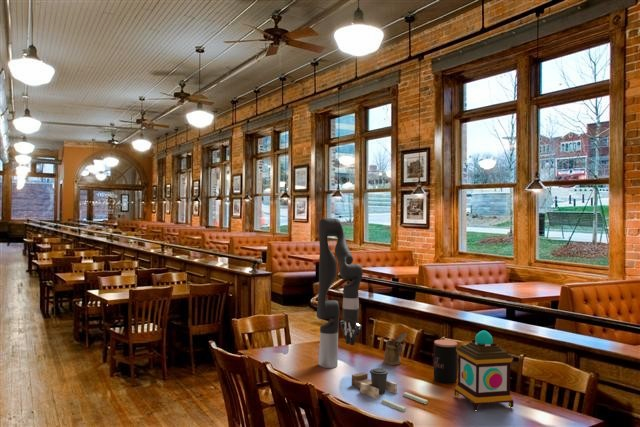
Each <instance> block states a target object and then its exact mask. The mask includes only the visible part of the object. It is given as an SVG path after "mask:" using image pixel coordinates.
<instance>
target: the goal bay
mask: <svg viewBox="0 0 640 427" xmlns="http://www.w3.org/2000/svg"><path fill="white" fill-rule="evenodd" d="M402 396H403V397H406V398H409V399H410V400H413V401H416V402H419V403H421V404H423V403H424V404H423V405H427V403H429V401H428V399H425V398H423V397H420V396H417V395H414V394H412V393H410V392H406V391H405V392H403V393H402ZM381 403H382V404H384V405H386V406H389V407H391V408H392V409H393V408H394V409H396V410H399V411H401V412H402V413H403V412H407V407H406V406H403V405H401V404H399V403H398V404H397V403H395V402H393V401H390V400H388V399H385V398H382V399H381Z"/></svg>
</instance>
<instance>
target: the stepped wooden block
mask: <svg viewBox="0 0 640 427" xmlns="http://www.w3.org/2000/svg"><path fill="white" fill-rule="evenodd" d="M359 390H360V393H362V394H364V395H366V396H368V397H371V398H373V399H375V400H378V399H380V395H379V389H378V388H375V387H373V386H370V385H368V384H365V383H361V386H360V388H359ZM385 391H388V392H391V393H393V394H398V383H396V382H393V381H391V380H388V379H387V380H386V388H385Z"/></svg>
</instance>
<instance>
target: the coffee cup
mask: <svg viewBox="0 0 640 427" xmlns="http://www.w3.org/2000/svg"><path fill="white" fill-rule="evenodd" d="M369 373H370V378H371V379H370V380H371V381H372V386H373V387H375V388H378V389H379V396H383V395H385V394H386V390H385V388H386V380H388V375H389V371H388V370H387V369H384V368H381V367H380V368H377V367H376V368H373V369H370V370H369Z"/></svg>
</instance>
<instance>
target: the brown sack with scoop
mask: <svg viewBox="0 0 640 427" xmlns="http://www.w3.org/2000/svg"><path fill="white" fill-rule="evenodd" d="M406 338H407V332H405V331H403V332H402V333H400V334H399V335H398V336H397V337H396V339H395V340H393V339H392V340H391V339H390V340H387V341H386V343H385V351H384V357H383V364H384V365H388V366H399V365H401V364H402V359H401V354H402V351H403V345H402V342H403V341H404V340H405V339H406Z"/></svg>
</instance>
